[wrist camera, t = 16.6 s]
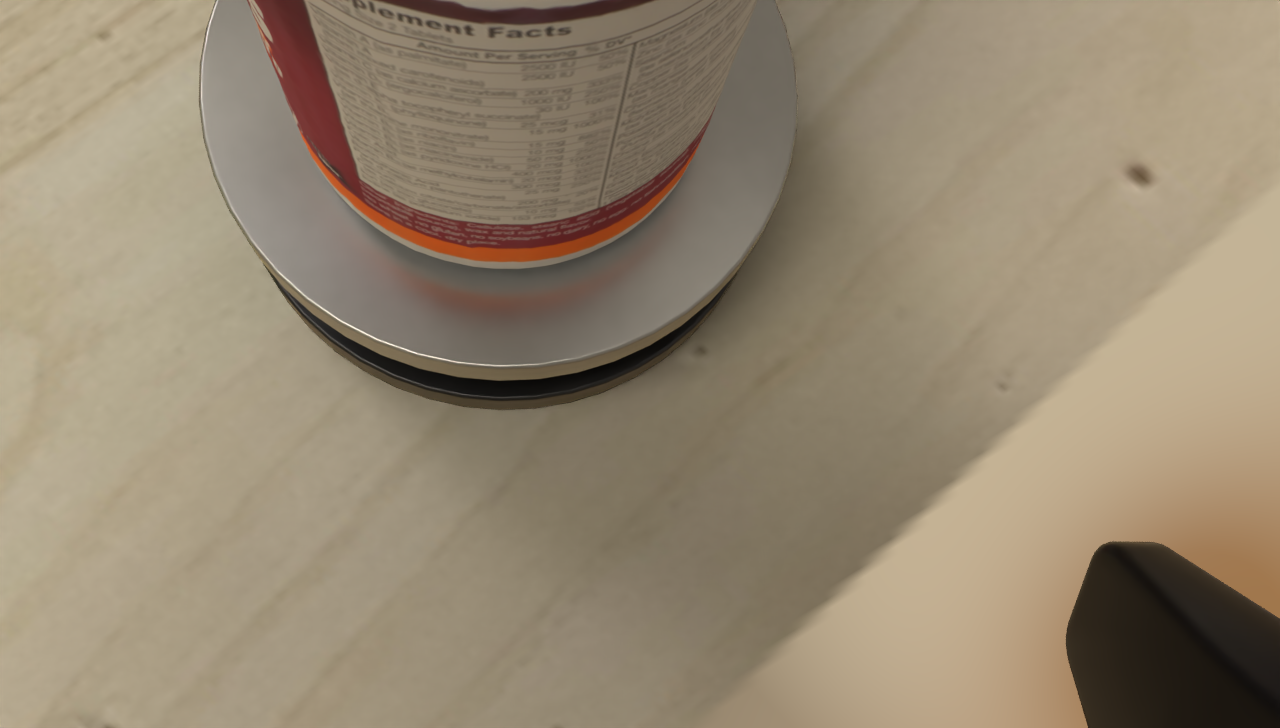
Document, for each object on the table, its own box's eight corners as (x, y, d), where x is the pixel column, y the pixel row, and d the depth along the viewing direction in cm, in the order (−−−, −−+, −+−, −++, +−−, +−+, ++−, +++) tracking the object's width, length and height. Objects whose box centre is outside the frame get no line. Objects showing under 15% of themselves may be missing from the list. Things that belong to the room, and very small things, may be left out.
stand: (851, 261, 21) (907, 198, 18) (395, 508, 19) (373, 482, 16) (603, -138, 22) (617, -256, 19) (154, 55, 20) (94, -44, 17)
